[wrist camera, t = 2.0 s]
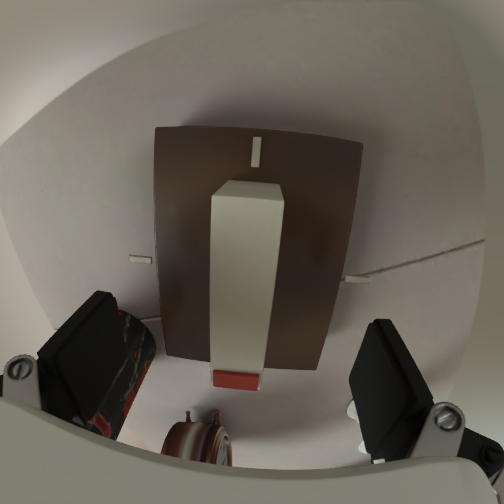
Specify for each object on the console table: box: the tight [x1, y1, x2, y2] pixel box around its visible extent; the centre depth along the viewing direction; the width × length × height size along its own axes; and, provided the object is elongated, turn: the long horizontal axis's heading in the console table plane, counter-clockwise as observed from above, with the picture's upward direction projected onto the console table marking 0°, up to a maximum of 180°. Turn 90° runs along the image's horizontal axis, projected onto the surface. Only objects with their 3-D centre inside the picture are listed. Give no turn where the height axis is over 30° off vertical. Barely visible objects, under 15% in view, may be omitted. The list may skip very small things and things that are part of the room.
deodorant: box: [70, 310, 156, 441], centre depth 14 cm, size 6×6×15 cm
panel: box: [129, 126, 370, 370], centre depth 16 cm, size 14×13×3 cm
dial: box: [210, 180, 284, 391], centre depth 12 cm, size 9×2×4 cm, turn 176°
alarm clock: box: [161, 410, 232, 466], centre depth 18 cm, size 11×5×15 cm, turn 3°
